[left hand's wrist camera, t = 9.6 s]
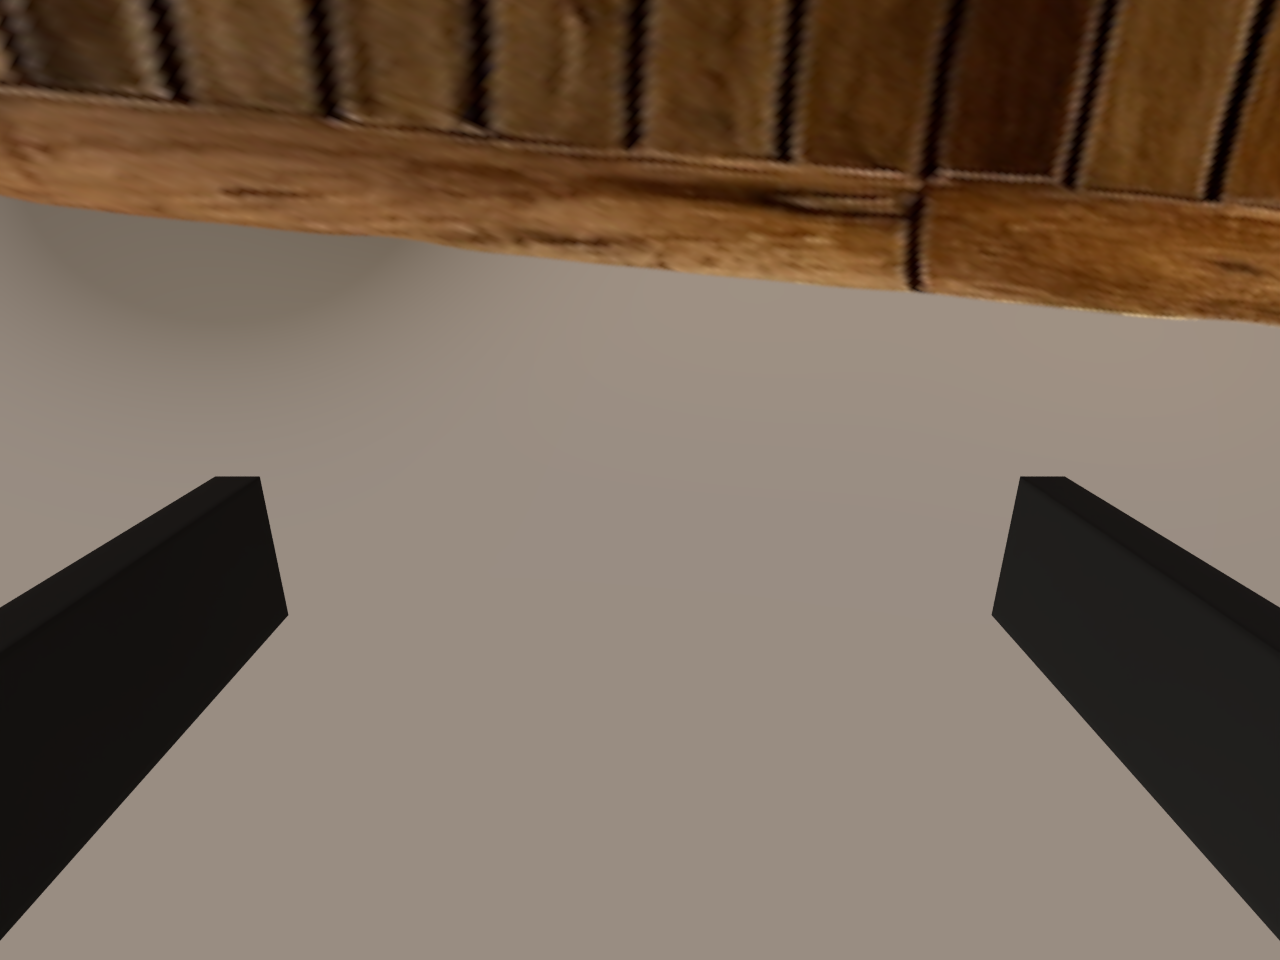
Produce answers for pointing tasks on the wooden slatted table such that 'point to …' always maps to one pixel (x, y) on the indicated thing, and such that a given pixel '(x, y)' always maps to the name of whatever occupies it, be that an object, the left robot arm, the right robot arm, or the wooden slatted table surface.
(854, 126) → the wooden slatted table surface
